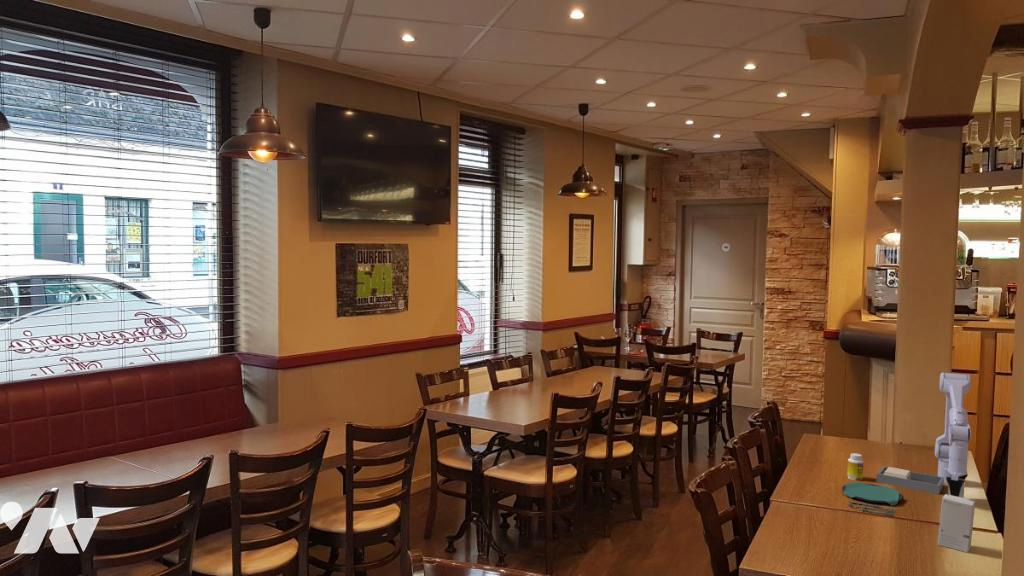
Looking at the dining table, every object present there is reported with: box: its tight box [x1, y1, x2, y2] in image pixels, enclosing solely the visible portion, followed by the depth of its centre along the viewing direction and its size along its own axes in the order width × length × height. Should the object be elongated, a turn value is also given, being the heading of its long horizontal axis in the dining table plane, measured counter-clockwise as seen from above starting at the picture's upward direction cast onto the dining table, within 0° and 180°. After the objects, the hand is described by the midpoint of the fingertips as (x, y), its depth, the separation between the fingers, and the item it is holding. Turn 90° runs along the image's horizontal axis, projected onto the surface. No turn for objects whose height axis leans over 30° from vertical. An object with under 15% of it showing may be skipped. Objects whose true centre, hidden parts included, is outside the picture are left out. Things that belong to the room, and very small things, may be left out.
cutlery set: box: [841, 481, 903, 517], centre depth 258 cm, size 20×30×2 cm, turn 150°
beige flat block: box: [883, 466, 911, 480], centre depth 277 cm, size 9×8×4 cm
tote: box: [875, 465, 945, 495], centre depth 275 cm, size 13×21×4 cm, turn 52°
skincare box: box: [937, 493, 976, 553], centre depth 217 cm, size 8×6×15 cm
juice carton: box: [947, 478, 966, 499], centre depth 258 cm, size 4×4×8 cm
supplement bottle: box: [846, 452, 864, 482], centre depth 280 cm, size 6×6×10 cm
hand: (955, 495), depth 258 cm, fingers open, 7 cm apart
